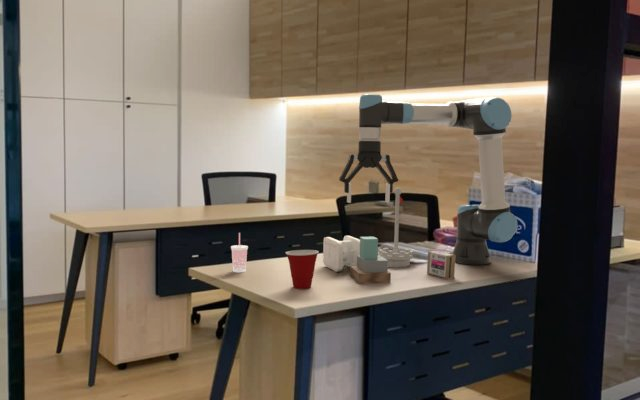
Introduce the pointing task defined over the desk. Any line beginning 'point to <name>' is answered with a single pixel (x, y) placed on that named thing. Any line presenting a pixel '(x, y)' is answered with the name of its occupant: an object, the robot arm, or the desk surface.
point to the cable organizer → (340, 252)
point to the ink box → (441, 264)
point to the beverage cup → (239, 257)
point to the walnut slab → (369, 276)
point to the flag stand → (395, 255)
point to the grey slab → (372, 264)
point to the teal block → (368, 247)
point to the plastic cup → (302, 267)
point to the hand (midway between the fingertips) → (368, 202)
